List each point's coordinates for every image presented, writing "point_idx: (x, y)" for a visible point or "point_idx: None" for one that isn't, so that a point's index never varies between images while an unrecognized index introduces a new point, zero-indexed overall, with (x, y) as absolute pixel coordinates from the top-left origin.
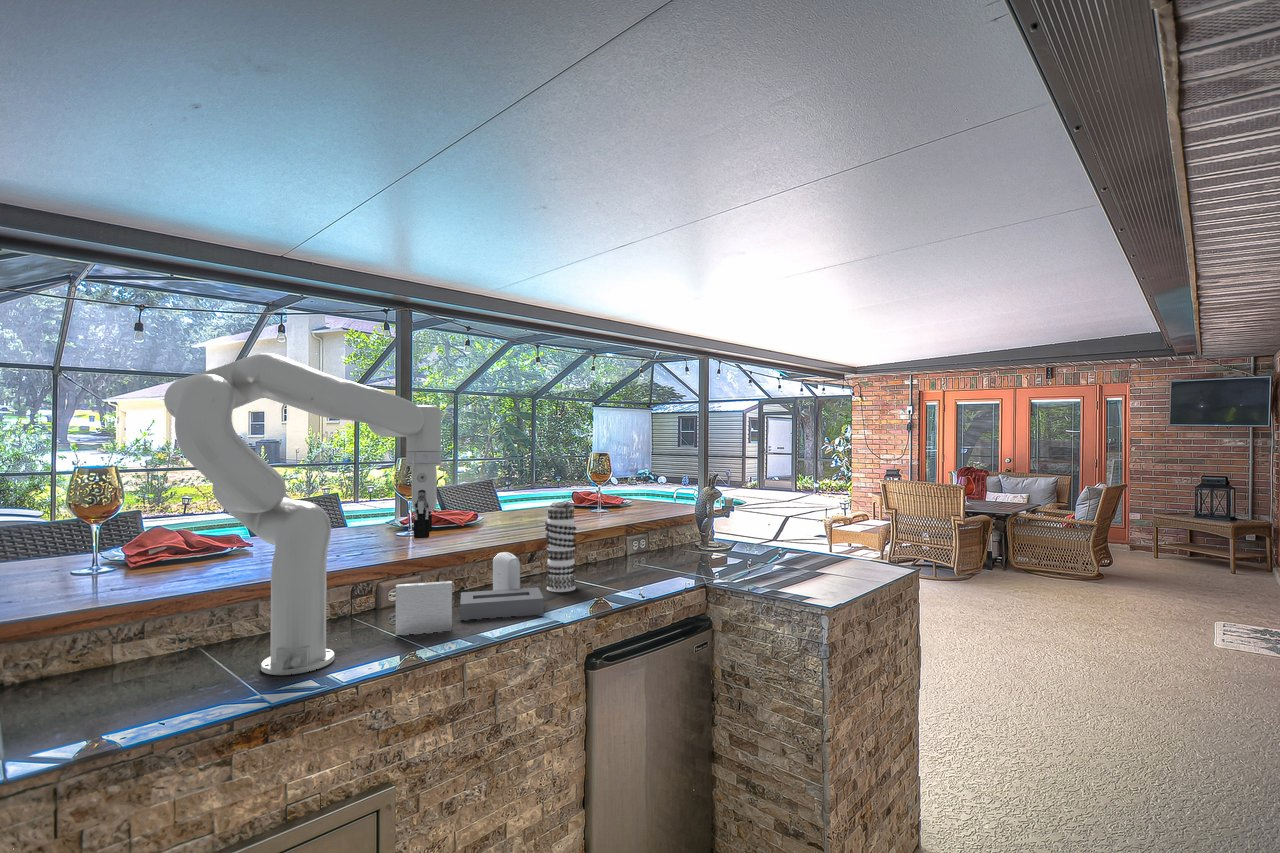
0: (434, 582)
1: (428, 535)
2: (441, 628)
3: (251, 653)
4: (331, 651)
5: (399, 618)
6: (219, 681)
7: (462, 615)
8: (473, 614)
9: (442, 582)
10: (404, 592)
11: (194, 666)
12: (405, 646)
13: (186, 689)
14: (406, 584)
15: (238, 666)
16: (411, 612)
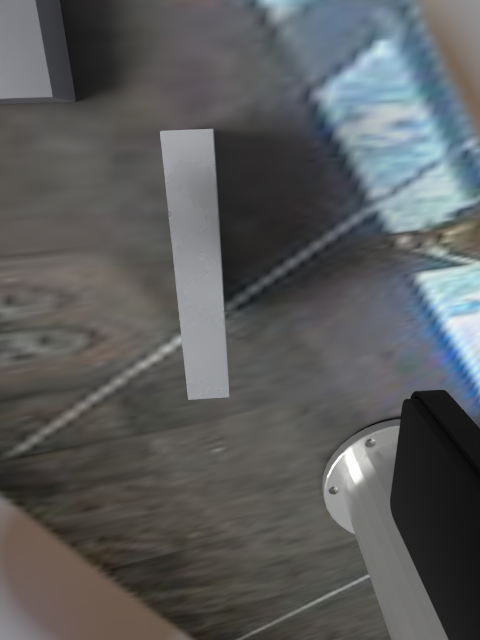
0: (180, 231)
1: (448, 404)
2: (216, 170)
3: (280, 571)
4: (375, 436)
5: (225, 323)
6: None
7: (68, 90)
8: (58, 36)
9: (188, 186)
10: (226, 349)
11: (331, 621)
12: (340, 269)
13: None
14: (198, 359)
15: (359, 565)
16: (223, 291)
